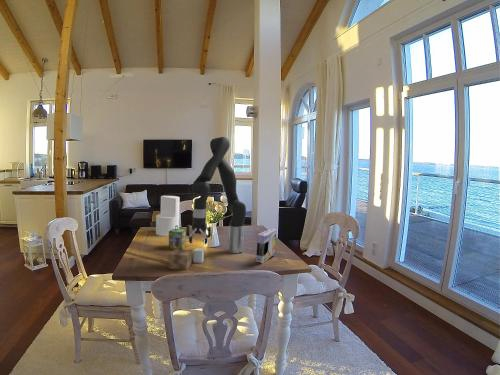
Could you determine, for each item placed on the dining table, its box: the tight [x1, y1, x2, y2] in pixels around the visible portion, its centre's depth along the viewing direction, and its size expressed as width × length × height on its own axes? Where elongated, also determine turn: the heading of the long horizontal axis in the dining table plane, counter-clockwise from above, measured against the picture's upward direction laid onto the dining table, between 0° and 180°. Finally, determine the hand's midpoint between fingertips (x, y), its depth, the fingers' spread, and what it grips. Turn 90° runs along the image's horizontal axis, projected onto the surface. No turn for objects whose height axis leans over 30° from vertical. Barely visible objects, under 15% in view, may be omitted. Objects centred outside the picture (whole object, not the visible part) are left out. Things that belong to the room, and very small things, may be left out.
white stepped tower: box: [155, 195, 180, 237], centre depth 248 cm, size 17×17×28 cm
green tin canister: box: [168, 225, 187, 250], centre depth 214 cm, size 9×9×15 cm
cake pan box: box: [255, 228, 278, 263], centre depth 197 cm, size 19×5×18 cm, turn 151°
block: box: [192, 247, 205, 264], centre depth 189 cm, size 5×5×7 cm
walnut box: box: [168, 249, 193, 271], centre depth 180 cm, size 10×10×8 cm
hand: (198, 243), depth 189 cm, fingers open, 8 cm apart
